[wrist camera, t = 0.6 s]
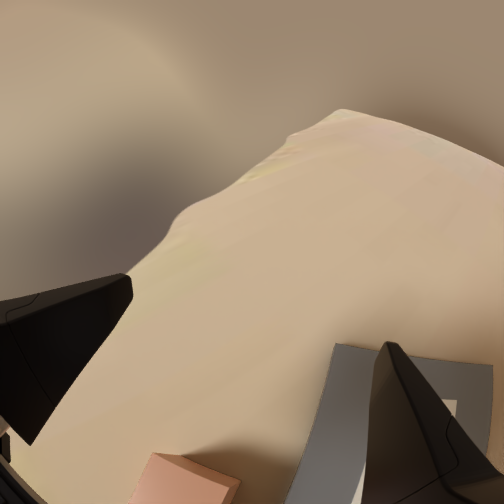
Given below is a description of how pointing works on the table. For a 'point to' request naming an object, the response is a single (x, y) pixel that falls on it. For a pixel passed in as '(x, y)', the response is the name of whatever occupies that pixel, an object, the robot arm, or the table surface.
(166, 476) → the brick
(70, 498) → the table surface
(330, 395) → the baseplate
